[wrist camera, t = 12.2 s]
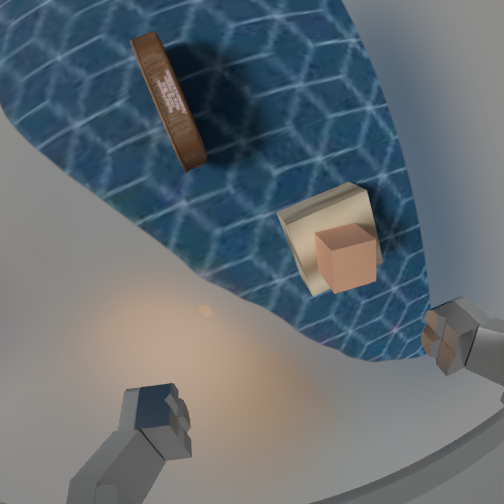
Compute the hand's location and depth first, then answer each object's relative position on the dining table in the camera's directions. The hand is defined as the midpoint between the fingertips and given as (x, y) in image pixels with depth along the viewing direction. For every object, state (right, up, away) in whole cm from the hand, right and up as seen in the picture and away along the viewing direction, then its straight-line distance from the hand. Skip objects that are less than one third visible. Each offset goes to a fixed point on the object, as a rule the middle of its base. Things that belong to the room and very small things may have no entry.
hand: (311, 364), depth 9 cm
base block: (+8, +6, +31) cm, 33 cm away
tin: (-10, +20, +22) cm, 31 cm away
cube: (+8, +4, +27) cm, 28 cm away
